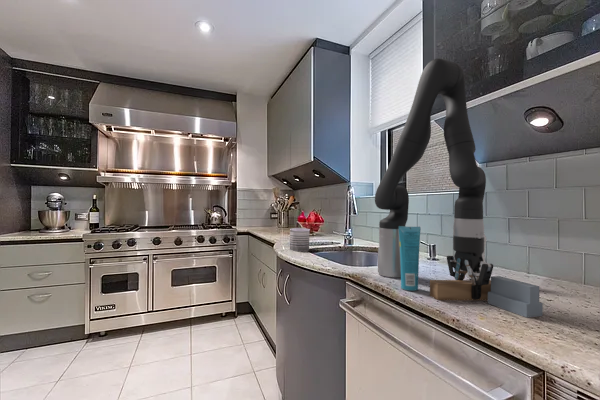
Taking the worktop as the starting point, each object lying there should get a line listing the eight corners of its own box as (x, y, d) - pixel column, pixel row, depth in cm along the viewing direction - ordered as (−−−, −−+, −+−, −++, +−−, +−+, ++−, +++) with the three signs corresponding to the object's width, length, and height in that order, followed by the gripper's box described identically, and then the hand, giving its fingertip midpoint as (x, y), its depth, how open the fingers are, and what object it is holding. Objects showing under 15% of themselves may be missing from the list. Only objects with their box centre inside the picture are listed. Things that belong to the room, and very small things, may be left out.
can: (310, 248, 168) (310, 228, 168) (308, 251, 156) (308, 229, 157) (291, 248, 169) (291, 227, 169) (287, 250, 158) (288, 229, 158)
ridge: (487, 303, 76) (487, 276, 76) (502, 301, 77) (502, 275, 77) (526, 317, 66) (526, 287, 66) (542, 315, 68) (542, 285, 68)
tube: (413, 286, 91) (414, 225, 92) (424, 290, 87) (425, 226, 87) (394, 287, 89) (394, 225, 89) (404, 292, 84) (404, 226, 85)
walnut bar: (429, 295, 81) (429, 279, 82) (496, 296, 83) (496, 280, 83) (437, 300, 78) (437, 283, 78) (507, 300, 79) (507, 284, 79)
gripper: (438, 232, 86) (438, 289, 86) (479, 237, 73) (479, 305, 72) (458, 232, 88) (458, 288, 88) (502, 237, 75) (502, 303, 74)
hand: (468, 295), depth 80 cm, fingers closed on walnut bar, 4 cm apart
